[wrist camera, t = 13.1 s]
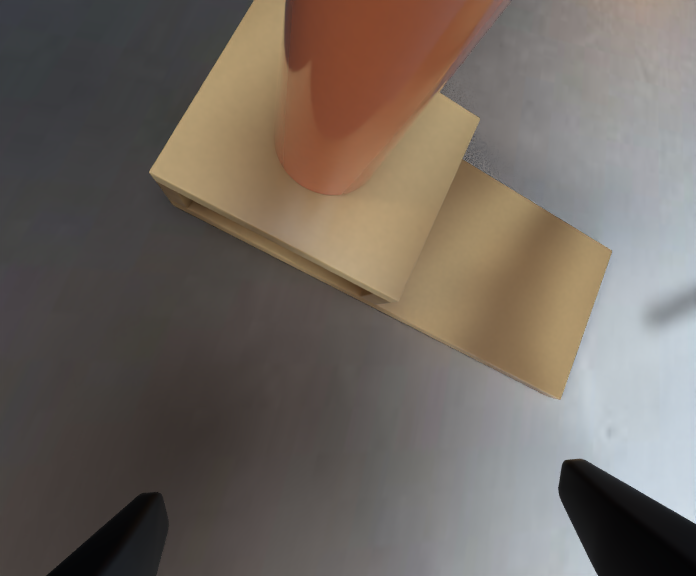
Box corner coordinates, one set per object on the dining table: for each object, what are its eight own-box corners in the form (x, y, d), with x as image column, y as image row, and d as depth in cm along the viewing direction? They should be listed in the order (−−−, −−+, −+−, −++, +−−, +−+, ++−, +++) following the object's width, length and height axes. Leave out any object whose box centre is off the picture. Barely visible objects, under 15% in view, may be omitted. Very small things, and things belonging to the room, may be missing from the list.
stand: (599, 253, 25) (670, 239, 21) (548, 397, 24) (614, 414, 19) (263, 50, 21) (265, -20, 17) (172, 205, 20) (148, 172, 15)
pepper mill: (331, 218, 17) (526, -50, 5) (249, 137, 16) (225, -405, 4) (401, 147, 18) (709, -224, 6) (326, 68, 17) (488, -526, 5)
